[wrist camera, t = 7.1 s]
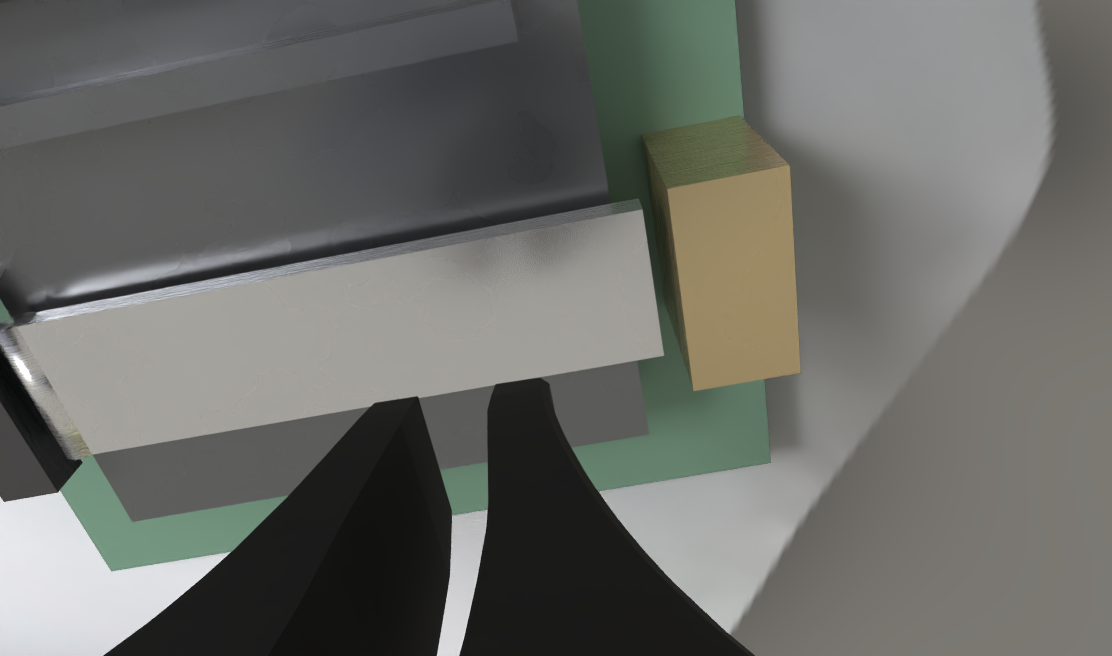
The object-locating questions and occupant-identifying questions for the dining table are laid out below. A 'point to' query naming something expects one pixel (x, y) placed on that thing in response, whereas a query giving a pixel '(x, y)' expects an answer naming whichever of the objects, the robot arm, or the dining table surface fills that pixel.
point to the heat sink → (346, 198)
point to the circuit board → (670, 403)
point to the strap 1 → (342, 331)
